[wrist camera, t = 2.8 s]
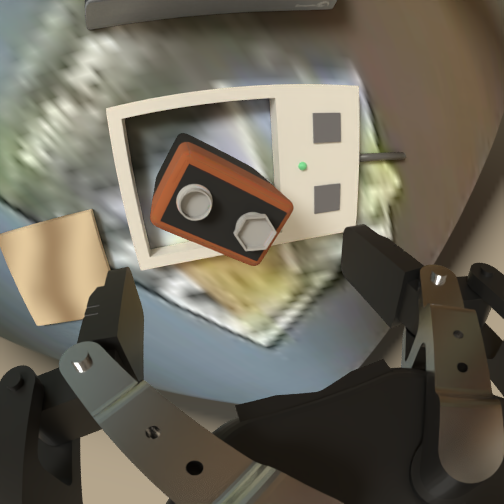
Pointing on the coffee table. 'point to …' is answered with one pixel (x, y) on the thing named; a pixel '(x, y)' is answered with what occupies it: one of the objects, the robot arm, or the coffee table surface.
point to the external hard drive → (184, 9)
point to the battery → (217, 201)
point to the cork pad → (56, 265)
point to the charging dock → (284, 160)
